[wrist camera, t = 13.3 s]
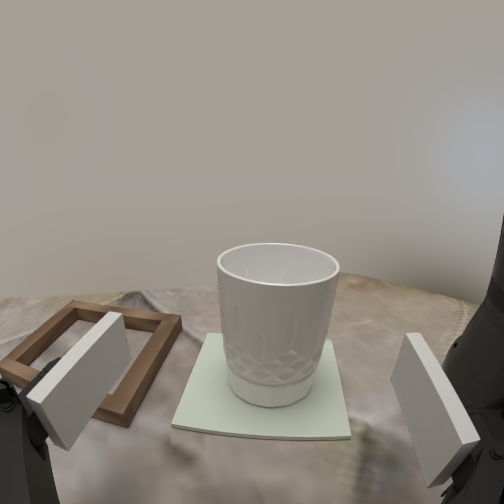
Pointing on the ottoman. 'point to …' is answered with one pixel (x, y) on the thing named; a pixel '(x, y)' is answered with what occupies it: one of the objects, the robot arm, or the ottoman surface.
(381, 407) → the ottoman surface
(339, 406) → the sage tile
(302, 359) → the white cup
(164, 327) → the walnut collar
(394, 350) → the ottoman surface
